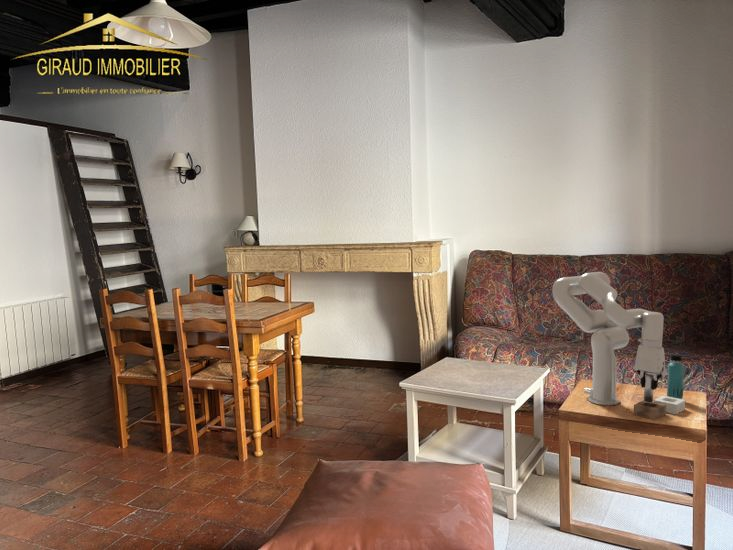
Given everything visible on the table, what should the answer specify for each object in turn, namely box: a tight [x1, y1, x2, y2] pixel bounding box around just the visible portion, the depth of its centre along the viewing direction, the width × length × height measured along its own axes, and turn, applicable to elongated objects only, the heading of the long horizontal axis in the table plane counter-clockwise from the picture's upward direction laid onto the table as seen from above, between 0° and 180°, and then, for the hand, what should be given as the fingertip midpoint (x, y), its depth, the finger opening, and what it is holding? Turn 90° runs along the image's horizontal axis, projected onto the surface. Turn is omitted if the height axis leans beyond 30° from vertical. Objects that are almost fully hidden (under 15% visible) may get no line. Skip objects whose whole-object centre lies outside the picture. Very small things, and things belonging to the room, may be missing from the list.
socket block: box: [633, 399, 667, 421], centre depth 245 cm, size 9×9×4 cm
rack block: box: [653, 395, 686, 415], centre depth 251 cm, size 9×9×4 cm
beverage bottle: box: [666, 354, 685, 399], centre depth 262 cm, size 6×7×20 cm
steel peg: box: [643, 372, 654, 402], centre depth 245 cm, size 3×3×11 cm
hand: (648, 387), depth 245 cm, fingers closed on steel peg, 3 cm apart
